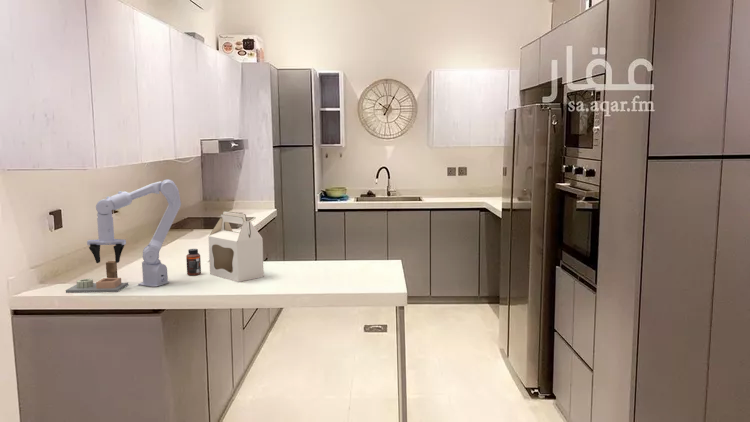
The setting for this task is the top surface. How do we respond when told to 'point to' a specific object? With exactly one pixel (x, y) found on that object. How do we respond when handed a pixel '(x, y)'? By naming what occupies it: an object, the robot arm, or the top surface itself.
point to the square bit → (111, 269)
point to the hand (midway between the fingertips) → (107, 262)
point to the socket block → (97, 285)
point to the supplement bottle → (193, 262)
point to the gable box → (235, 249)
